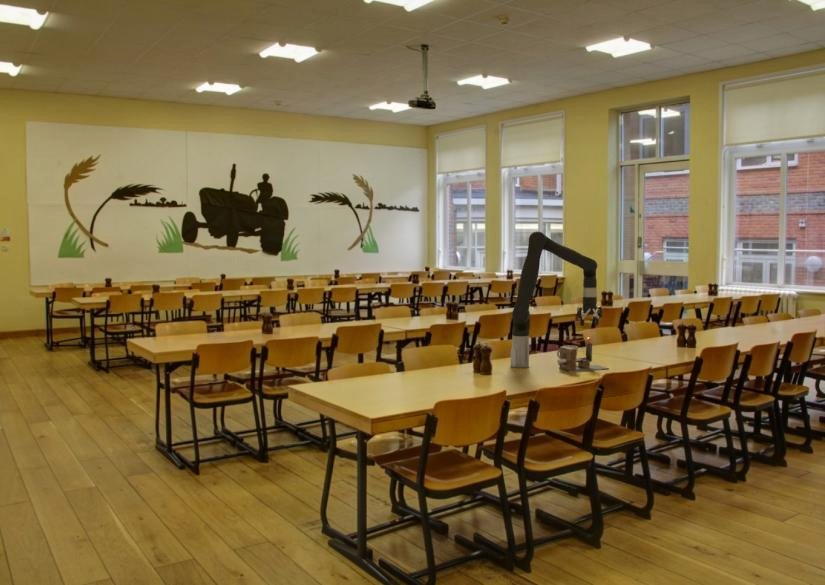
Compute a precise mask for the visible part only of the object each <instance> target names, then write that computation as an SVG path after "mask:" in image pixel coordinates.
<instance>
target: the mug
mask: <svg viewBox="0 0 825 585" xmlns="http://www.w3.org/2000/svg"><path fill="white" fill-rule="evenodd" d="M564 346H567V347H571V348H574V349H576V358H578V357H577V356H578V350H579V349H578V348H579V346H578V345H573V344H571V345H569V344H567V345H566V344H565V345H562V347H564ZM556 356H557V358H558V359H560V348H559V349H557V351H556Z"/></svg>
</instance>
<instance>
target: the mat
mask: <svg viewBox="0 0 825 585" xmlns="http://www.w3.org/2000/svg"><path fill="white" fill-rule="evenodd" d="M558 369H560V366H559V367H558ZM562 369H563V368H562ZM562 369H560V370H562ZM602 370H603V371H604V370H606V371H607V370H610V368H609V367H606V366H603V365H599V364H590V368H587V369H582V368H579V367H578V365H576V370H572V371H569V373H572V372H573V373H574V372H588V371H602ZM566 372H568V371H567V370H566Z"/></svg>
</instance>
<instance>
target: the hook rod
mask: <svg viewBox="0 0 825 585" xmlns="http://www.w3.org/2000/svg"><path fill="white" fill-rule="evenodd" d="M582 360H590V363H591V362H593V338H591V337H587V338H586V339H585V357H576V363H578V362H582ZM560 363H566V359H559V358H558V359H557V364H559V365H560Z"/></svg>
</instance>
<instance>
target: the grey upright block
mask: <svg viewBox="0 0 825 585" xmlns="http://www.w3.org/2000/svg"><path fill="white" fill-rule="evenodd" d="M563 346H564V347H563ZM563 346H560V347H559V349H560V352H559V356H560V359H566V363H560V364H559V367H560V370H563V371H566V370H567V371H566V372H569V371H572V370H576V366H577V362H576V358H577V357H576V349H574V348H571V347H567V346H565V345H563ZM562 368H563V369H562ZM569 373H570V372H569Z"/></svg>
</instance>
